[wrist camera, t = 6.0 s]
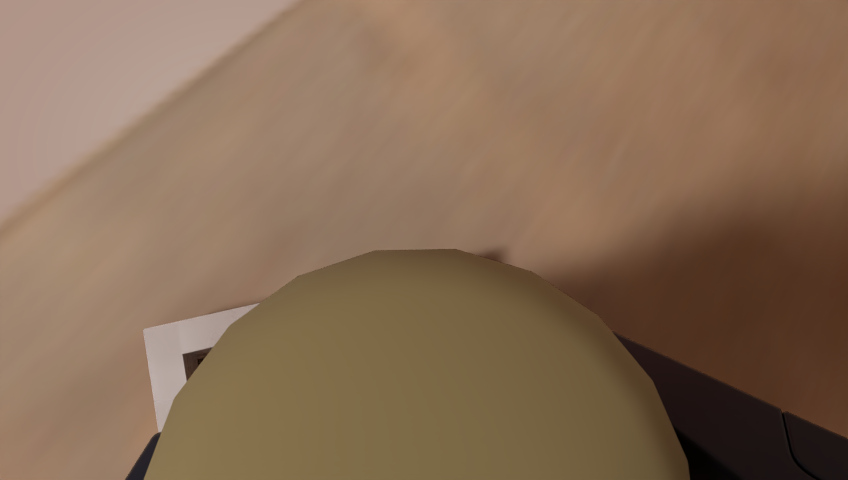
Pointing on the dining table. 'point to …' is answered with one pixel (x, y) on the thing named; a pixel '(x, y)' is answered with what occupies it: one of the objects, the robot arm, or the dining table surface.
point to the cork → (418, 383)
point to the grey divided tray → (182, 353)
